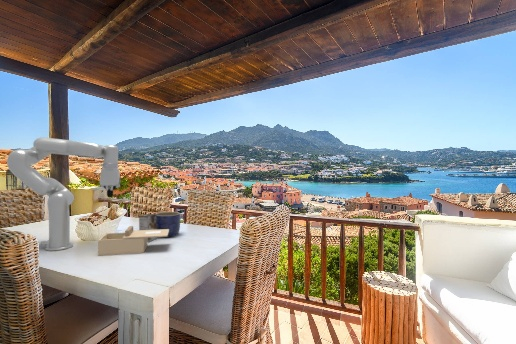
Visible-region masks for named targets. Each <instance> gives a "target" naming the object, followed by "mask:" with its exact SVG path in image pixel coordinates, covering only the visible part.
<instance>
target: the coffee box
mask: <svg viewBox="0 0 516 344" xmlns="http://www.w3.org/2000/svg"><path fill="white" fill-rule="evenodd" d="M138 219H139V220H138V223H139V225H138V227H139V229H138V230H156V213H146V214H142V215H139V216H138ZM154 240H157V237H147V244H148V243H150V242H153V241H154Z"/></svg>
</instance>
